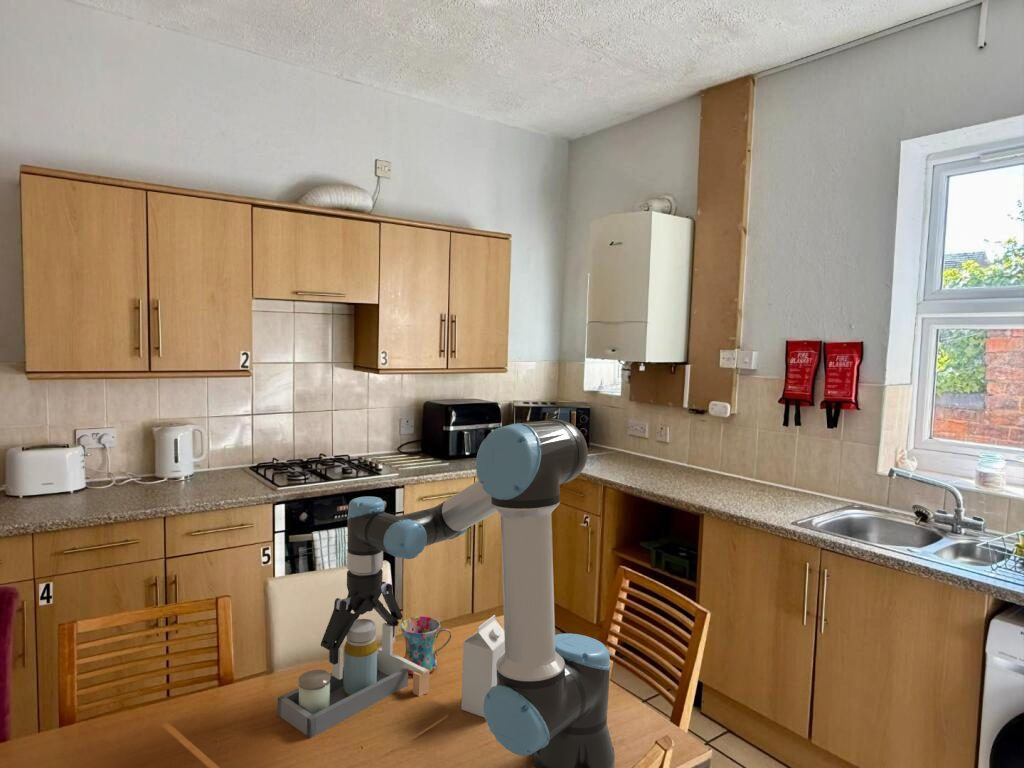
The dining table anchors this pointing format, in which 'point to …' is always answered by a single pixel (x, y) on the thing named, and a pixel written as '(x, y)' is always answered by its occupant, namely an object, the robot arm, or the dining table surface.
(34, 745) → the dining table surface
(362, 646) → the bottle
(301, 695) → the jar
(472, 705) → the milk carton
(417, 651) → the mug
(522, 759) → the dining table surface
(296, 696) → the grey tray
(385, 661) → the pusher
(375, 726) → the dining table surface
